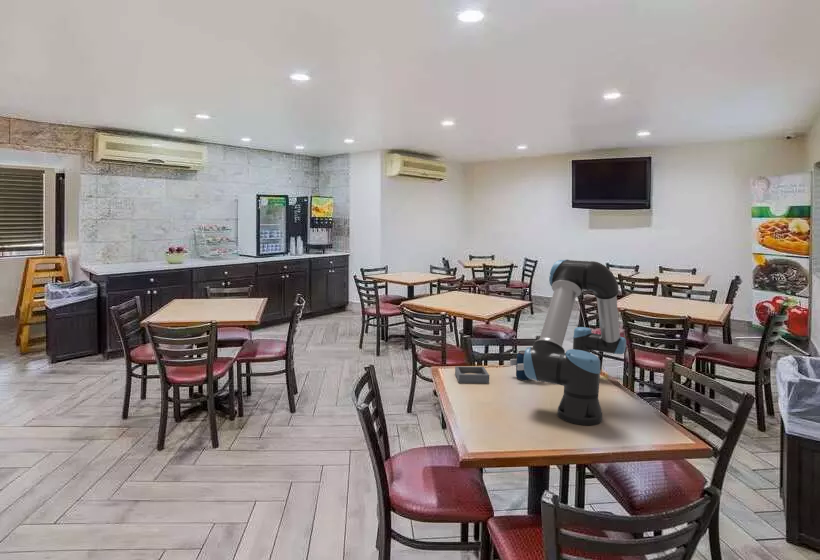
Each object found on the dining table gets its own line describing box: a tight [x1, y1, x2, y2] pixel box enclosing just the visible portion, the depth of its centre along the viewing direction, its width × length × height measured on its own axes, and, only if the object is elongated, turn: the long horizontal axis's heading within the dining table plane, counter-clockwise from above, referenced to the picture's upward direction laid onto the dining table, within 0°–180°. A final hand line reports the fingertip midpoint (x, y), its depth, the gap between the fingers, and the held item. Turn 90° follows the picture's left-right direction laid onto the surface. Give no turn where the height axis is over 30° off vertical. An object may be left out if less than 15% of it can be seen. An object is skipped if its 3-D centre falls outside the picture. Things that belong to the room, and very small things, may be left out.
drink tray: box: [454, 365, 490, 384], centre depth 220 cm, size 13×13×4 cm
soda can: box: [515, 350, 531, 381], centre depth 222 cm, size 7×7×12 cm
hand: (514, 364), depth 220 cm, fingers closed on soda can, 7 cm apart
